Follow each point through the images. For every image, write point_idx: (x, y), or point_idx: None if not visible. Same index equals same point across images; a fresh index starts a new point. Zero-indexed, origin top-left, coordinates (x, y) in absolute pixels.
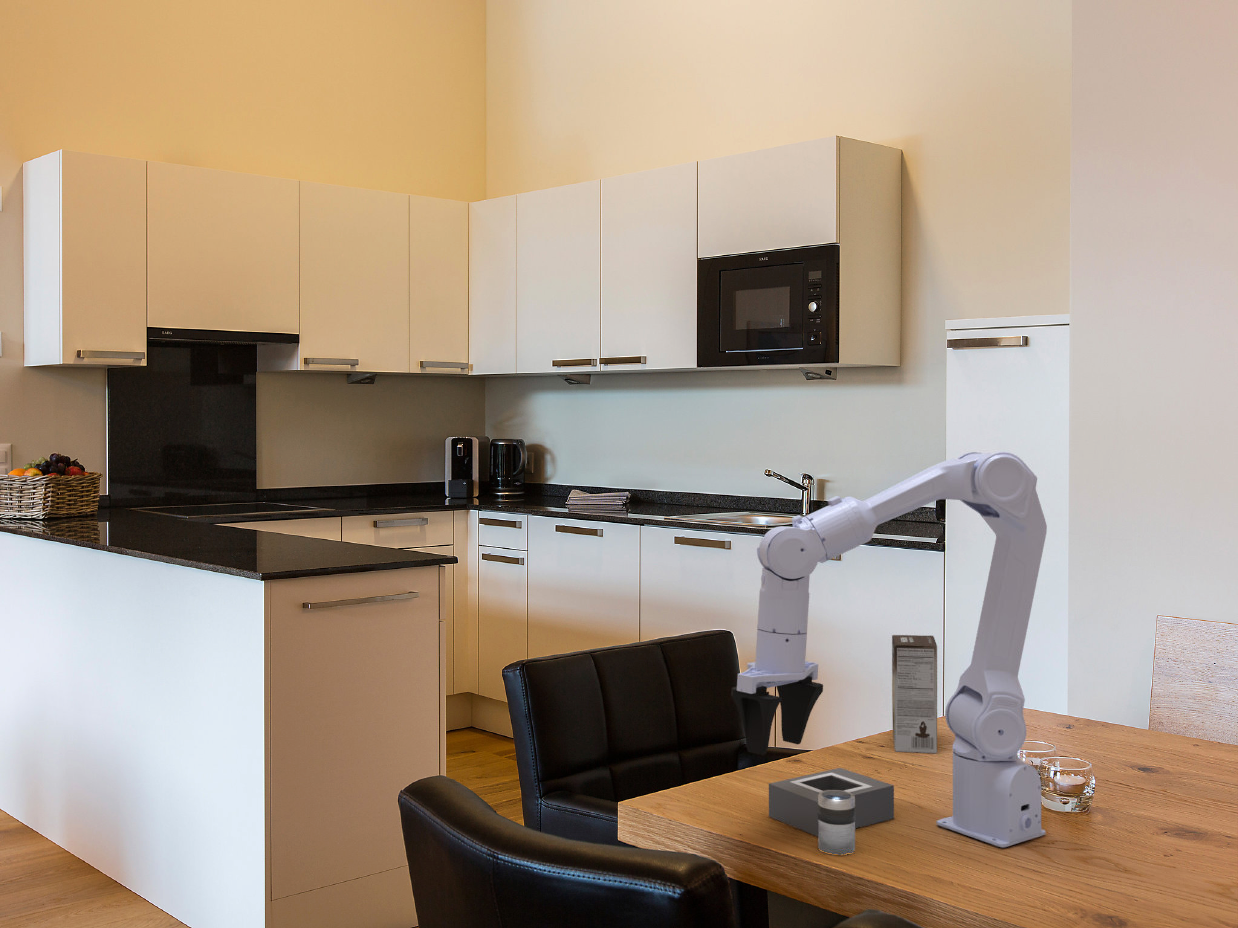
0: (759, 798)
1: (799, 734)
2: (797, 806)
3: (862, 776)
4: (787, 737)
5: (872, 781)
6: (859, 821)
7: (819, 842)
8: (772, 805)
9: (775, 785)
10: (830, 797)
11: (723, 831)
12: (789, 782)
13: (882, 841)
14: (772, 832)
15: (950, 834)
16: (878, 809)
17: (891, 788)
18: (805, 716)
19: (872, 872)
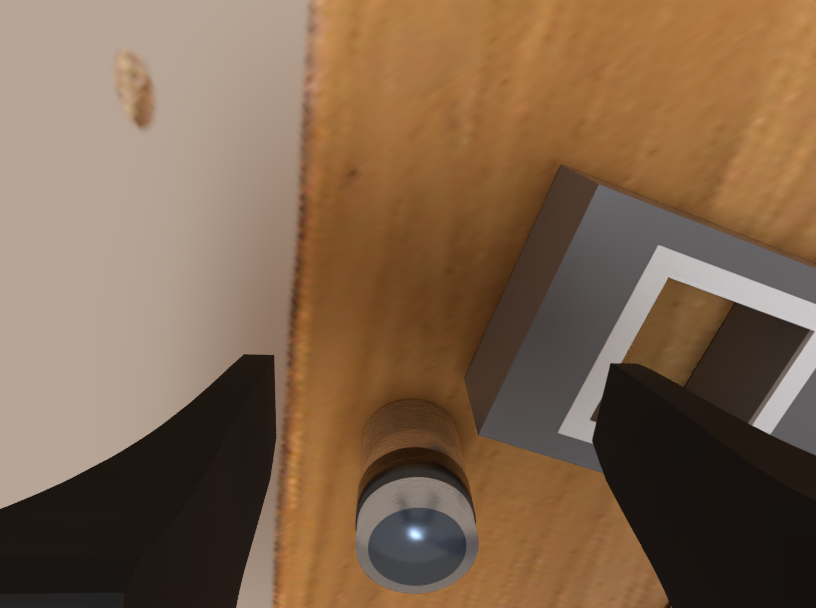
0: (740, 28)
1: (611, 481)
2: (516, 318)
3: None
4: (613, 399)
5: None
6: None
7: (374, 424)
8: (564, 190)
9: (588, 219)
10: (380, 544)
11: (339, 111)
12: (654, 244)
13: (529, 499)
14: (427, 248)
15: (660, 588)
16: None
17: None
18: (668, 587)
19: (321, 552)
